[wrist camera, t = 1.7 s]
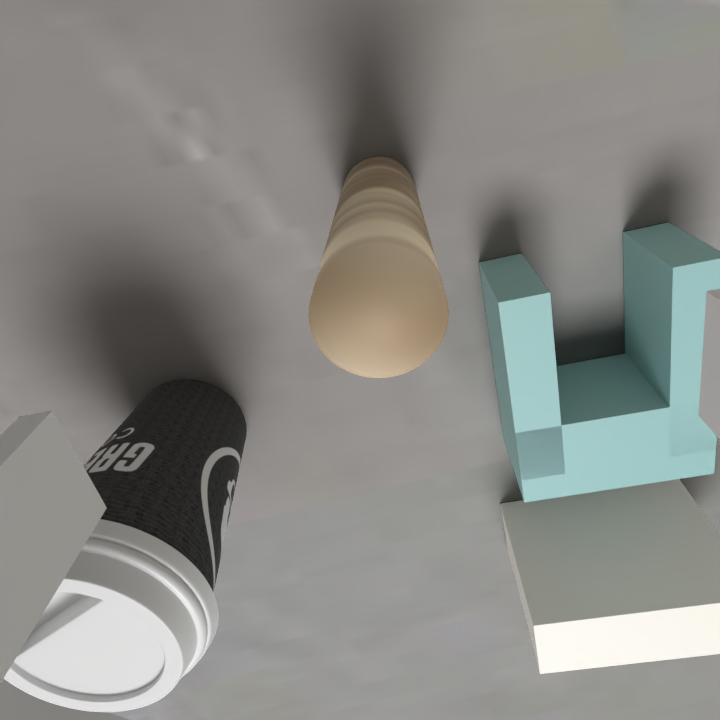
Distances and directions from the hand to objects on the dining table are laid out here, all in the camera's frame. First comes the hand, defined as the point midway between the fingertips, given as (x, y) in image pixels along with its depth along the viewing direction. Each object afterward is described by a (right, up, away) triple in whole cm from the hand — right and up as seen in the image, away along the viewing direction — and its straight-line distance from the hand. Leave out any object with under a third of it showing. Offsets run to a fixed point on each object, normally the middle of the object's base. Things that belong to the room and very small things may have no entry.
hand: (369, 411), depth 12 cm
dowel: (+1, +9, +16) cm, 19 cm away
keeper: (+12, +3, +19) cm, 23 cm away
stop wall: (+15, -9, +25) cm, 31 cm away
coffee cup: (-10, -3, +23) cm, 26 cm away
